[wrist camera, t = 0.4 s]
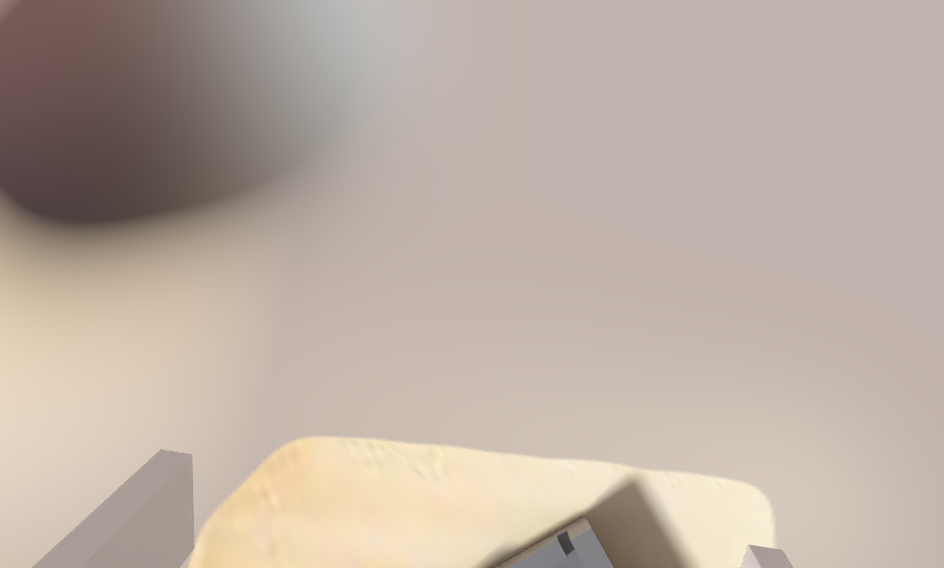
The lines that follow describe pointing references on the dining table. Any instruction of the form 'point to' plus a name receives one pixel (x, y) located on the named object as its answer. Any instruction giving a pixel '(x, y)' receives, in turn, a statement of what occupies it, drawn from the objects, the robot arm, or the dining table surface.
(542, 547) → the cradle
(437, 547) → the dining table surface
